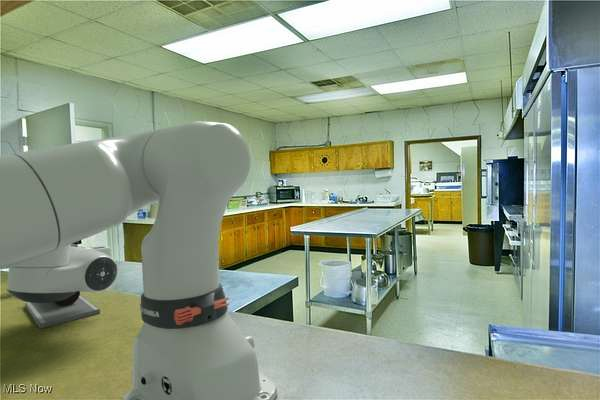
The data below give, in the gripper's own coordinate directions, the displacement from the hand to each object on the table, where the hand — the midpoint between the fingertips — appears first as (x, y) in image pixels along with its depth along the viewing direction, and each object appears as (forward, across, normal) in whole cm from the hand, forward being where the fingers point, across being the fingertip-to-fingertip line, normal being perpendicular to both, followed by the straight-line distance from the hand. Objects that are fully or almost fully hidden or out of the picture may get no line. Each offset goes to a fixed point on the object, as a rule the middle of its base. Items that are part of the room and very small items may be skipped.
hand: (52, 259), depth 89 cm
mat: (-3, 0, -13) cm, 13 cm away
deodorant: (-4, +1, -9) cm, 10 cm away
